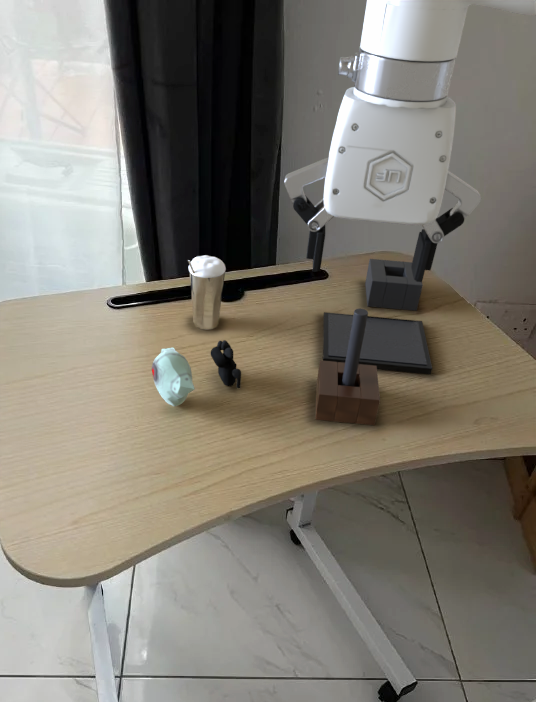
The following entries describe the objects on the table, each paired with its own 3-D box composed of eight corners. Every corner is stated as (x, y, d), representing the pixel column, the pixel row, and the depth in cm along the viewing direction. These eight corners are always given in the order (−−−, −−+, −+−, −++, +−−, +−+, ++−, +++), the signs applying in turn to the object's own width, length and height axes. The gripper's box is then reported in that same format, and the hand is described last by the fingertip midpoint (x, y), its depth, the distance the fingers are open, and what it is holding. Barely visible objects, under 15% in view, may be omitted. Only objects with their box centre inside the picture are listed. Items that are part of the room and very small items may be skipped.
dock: (411, 287, 96) (417, 262, 94) (416, 311, 91) (422, 285, 89) (365, 283, 97) (369, 258, 94) (367, 306, 91) (372, 280, 89)
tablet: (420, 326, 88) (422, 320, 87) (430, 374, 79) (432, 367, 79) (323, 317, 89) (323, 311, 88) (322, 364, 80) (323, 357, 79)
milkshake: (176, 324, 86) (175, 253, 79) (206, 310, 89) (208, 241, 83) (200, 339, 83) (201, 267, 77) (230, 324, 86) (233, 253, 80)
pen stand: (371, 390, 76) (376, 365, 74) (374, 425, 71) (380, 400, 69) (316, 384, 77) (319, 360, 74) (315, 419, 72) (319, 394, 69)
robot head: (201, 422, 70) (201, 371, 66) (163, 430, 69) (162, 378, 65) (179, 380, 76) (179, 330, 72) (145, 386, 75) (142, 336, 71)
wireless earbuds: (243, 397, 74) (245, 360, 71) (222, 401, 73) (223, 364, 70) (223, 363, 79) (224, 327, 76) (203, 366, 79) (203, 330, 75)
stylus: (350, 401, 74) (367, 308, 67) (350, 409, 73) (368, 315, 66) (337, 400, 75) (354, 307, 67) (338, 407, 73) (354, 314, 66)
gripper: (293, 79, 51) (274, 280, 61) (522, 98, 50) (462, 298, 60) (297, 59, 56) (278, 245, 67) (502, 76, 55) (450, 261, 66)
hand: (366, 270), depth 64 cm, fingers open, 9 cm apart
